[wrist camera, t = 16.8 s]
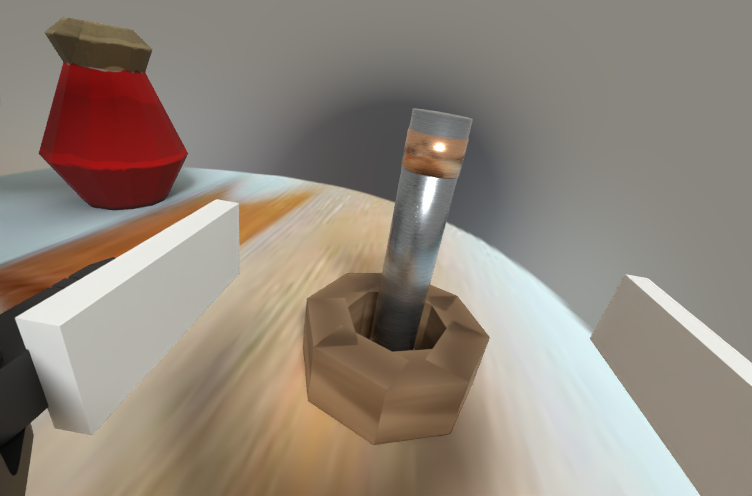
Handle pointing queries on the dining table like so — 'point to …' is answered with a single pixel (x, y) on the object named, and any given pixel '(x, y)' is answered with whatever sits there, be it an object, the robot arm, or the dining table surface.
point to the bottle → (109, 119)
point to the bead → (389, 362)
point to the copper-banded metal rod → (418, 224)
